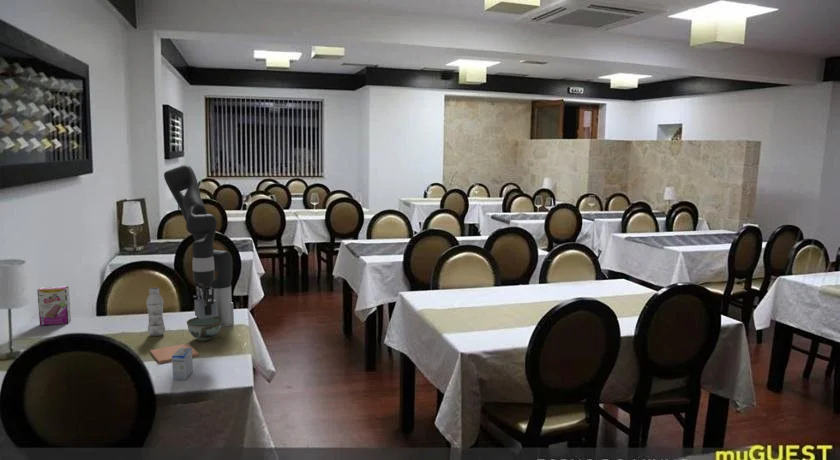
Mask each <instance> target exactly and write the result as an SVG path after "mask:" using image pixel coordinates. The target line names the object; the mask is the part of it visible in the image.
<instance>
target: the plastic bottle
mask: <svg viewBox="0 0 840 460" xmlns="http://www.w3.org/2000/svg"><path fill="white" fill-rule="evenodd" d="M148 291H149V292H148V293H149V295H148V297H147V298H146V301H145V303H146V307H147V314H148V324H147V325H148V326H147V332H148V335H149V336H152V337H159V336H162V335H164V333H165V332H166V326H165V323H164V316H163V315H164V314H163V311H164V310H163V308H164V299H163V297H162V295H160V288H159V287H151V288H149V289H148Z"/></svg>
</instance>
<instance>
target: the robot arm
mask: <svg viewBox="0 0 840 460" xmlns="http://www.w3.org/2000/svg"><path fill="white" fill-rule="evenodd" d="M163 177H164V181H165V183H166V185H167V187H168V189H169V191H170V193H171V194H172V196H173V199H174V201H176V203H177V205H178V207H179V209H180V211H181V214H182V215H183V218H184V220H185V228H186V230H187V232H188V233H189V234H190V235H192V237H193V239H194V241H193V242H192V244H191V245H192V246H191V247H192V281H193V282H194V283H195V284H194V285H195V294H196V299H202V300H204V305H205V315H211V314H212V309H211V305H212V304H214V300H216V314H217V316H218V317H221V318H222V321H221V328H222V327H227V326H230V325H233V324H235V319H234V317H235V315H234V302H232V300H233V299H232V280H233V256H232V254H231V252H230V251H228V250H219V249H215V248H214V239H215V235H216V231H217V228H218V219H217V218H216V216H215V215H214V214H211V213H208V211H207V209H206V207H205V203H204V201H203V200H202V196H201V191H200V186H199V183H198V179H197V176H196V173H195V172H194V170H193V168H192V167H191V166H190V165H189V164H183V165H180V166H177V167H174V168H171V169H169V170H166V171H165V172H164V173H163ZM182 191H186V192H185V194H183V193H182ZM216 272H217V276H215V275H216V274H215V273H216ZM208 299H209V302H208Z"/></svg>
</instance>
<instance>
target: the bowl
mask: <svg viewBox="0 0 840 460" xmlns="http://www.w3.org/2000/svg"><path fill="white" fill-rule="evenodd" d="M221 321H222V318H221V317H218V316H217V317H211V318H205V319H199V318H198V317H197V316H195V317H193V318H190V319H188V320H187V321H186V324H187V329H188V331H189V333H190V335H191V336H192V337H193V338H195V339H197V341H199V342H209V341H212V340H213V339H214V337H215V336H216V335H217V334H218V333H219V332H220V330H221V328H222V327H221Z"/></svg>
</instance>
